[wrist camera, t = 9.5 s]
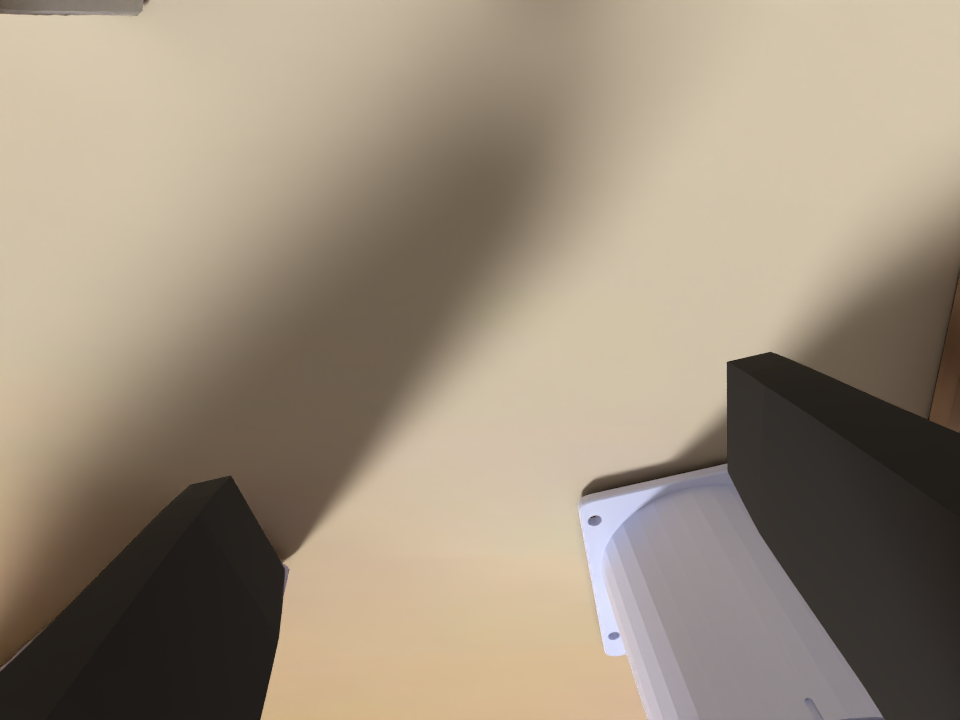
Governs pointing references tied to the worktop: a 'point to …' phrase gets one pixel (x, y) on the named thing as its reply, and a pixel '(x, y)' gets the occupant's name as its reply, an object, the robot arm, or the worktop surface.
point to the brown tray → (949, 375)
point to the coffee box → (72, 7)
